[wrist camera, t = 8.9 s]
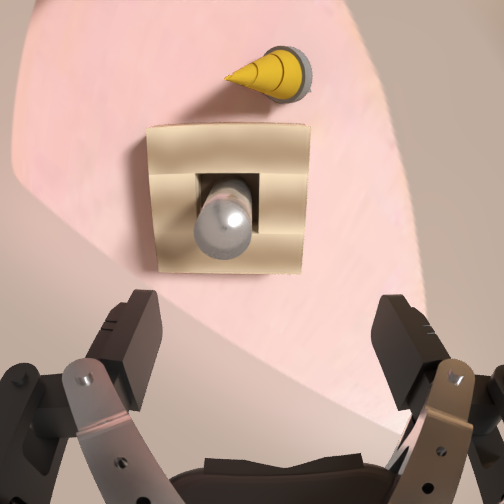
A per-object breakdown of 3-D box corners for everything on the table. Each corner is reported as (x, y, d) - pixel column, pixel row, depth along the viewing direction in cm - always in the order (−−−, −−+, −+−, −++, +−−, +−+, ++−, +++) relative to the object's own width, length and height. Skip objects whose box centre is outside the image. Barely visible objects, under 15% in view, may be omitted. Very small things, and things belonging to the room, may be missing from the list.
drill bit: (307, 111, 29) (228, 126, 23) (277, 73, 29) (195, 80, 24) (341, 75, 25) (261, 77, 19) (305, 37, 25) (221, 31, 19)
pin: (210, 174, 30) (192, 206, 21) (252, 174, 31) (252, 206, 22) (211, 213, 32) (195, 259, 23) (251, 214, 32) (251, 260, 23)
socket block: (158, 125, 29) (146, 128, 26) (303, 124, 29) (310, 126, 26) (167, 254, 35) (158, 272, 32) (296, 256, 35) (300, 274, 32)
